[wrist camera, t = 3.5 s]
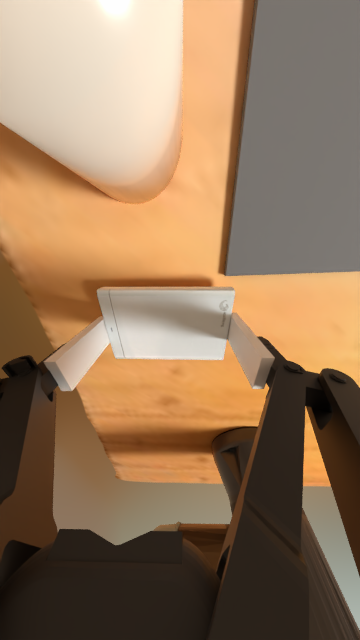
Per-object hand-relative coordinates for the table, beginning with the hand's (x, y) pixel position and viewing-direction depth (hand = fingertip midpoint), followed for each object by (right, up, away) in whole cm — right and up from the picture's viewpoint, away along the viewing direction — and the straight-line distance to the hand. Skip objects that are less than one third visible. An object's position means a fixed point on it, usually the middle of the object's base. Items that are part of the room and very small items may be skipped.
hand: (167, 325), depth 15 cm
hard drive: (0, 0, +1) cm, 1 cm away
